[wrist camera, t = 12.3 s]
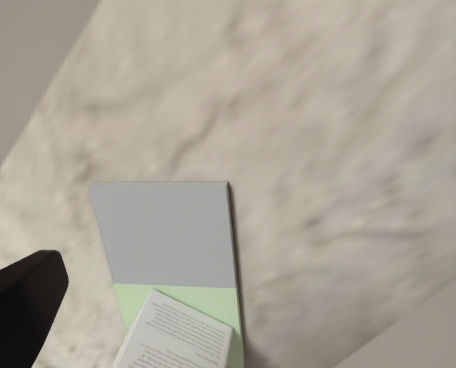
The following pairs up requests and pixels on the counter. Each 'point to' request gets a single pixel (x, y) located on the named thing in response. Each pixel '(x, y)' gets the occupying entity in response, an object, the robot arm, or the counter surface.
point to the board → (171, 248)
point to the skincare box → (173, 337)
